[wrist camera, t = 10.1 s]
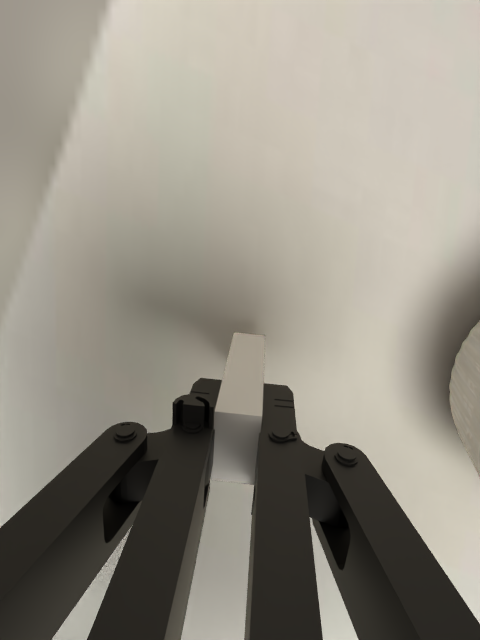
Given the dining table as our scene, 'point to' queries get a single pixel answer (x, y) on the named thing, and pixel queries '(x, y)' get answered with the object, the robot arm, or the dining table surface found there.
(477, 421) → the ramekin
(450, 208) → the dining table surface
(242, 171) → the dining table surface
